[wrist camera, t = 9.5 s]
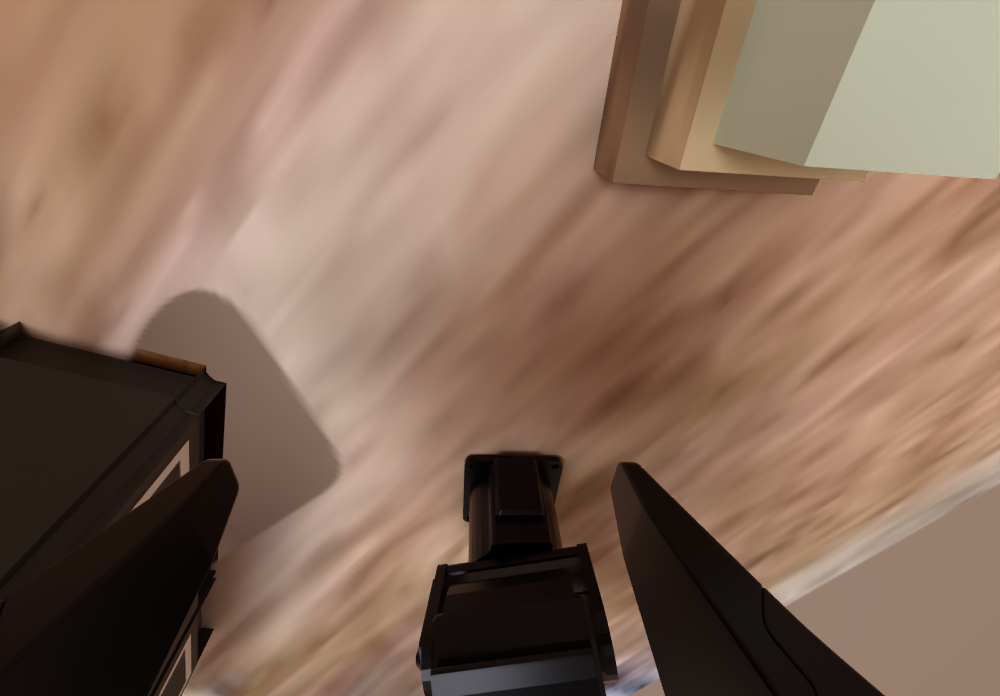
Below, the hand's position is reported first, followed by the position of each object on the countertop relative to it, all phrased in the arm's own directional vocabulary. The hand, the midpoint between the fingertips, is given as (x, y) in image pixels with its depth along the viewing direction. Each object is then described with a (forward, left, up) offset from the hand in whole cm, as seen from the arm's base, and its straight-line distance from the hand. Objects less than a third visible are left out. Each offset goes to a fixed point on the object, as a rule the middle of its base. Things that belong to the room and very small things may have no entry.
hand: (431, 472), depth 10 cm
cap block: (+9, -10, -6) cm, 15 cm away
